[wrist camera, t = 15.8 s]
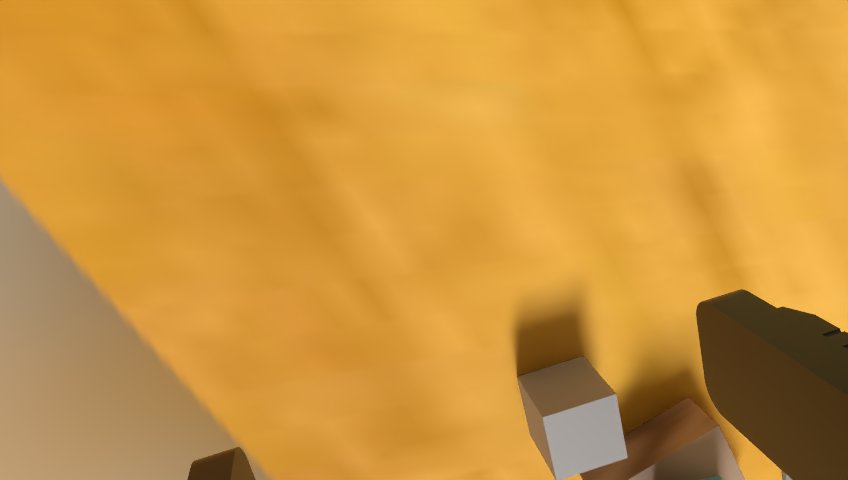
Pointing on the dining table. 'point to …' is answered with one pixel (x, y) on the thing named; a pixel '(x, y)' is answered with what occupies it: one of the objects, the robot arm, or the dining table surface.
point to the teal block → (713, 478)
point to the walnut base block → (673, 449)
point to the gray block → (572, 417)
